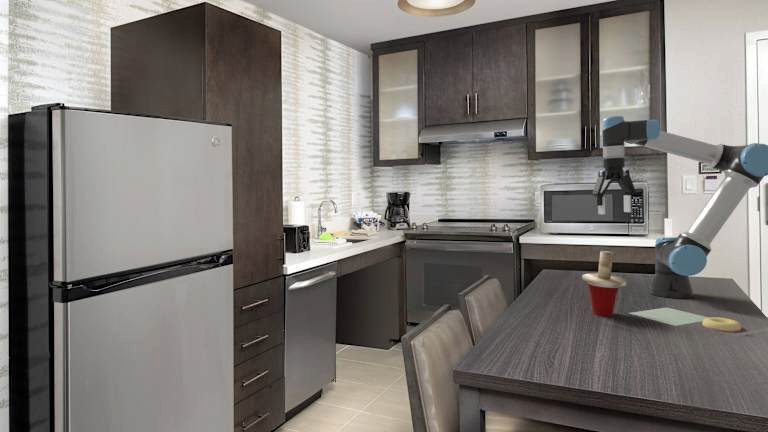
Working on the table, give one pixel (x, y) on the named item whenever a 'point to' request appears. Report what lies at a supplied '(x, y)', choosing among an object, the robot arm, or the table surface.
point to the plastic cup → (602, 299)
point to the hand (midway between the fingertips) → (614, 213)
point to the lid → (604, 273)
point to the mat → (670, 316)
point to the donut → (721, 324)
